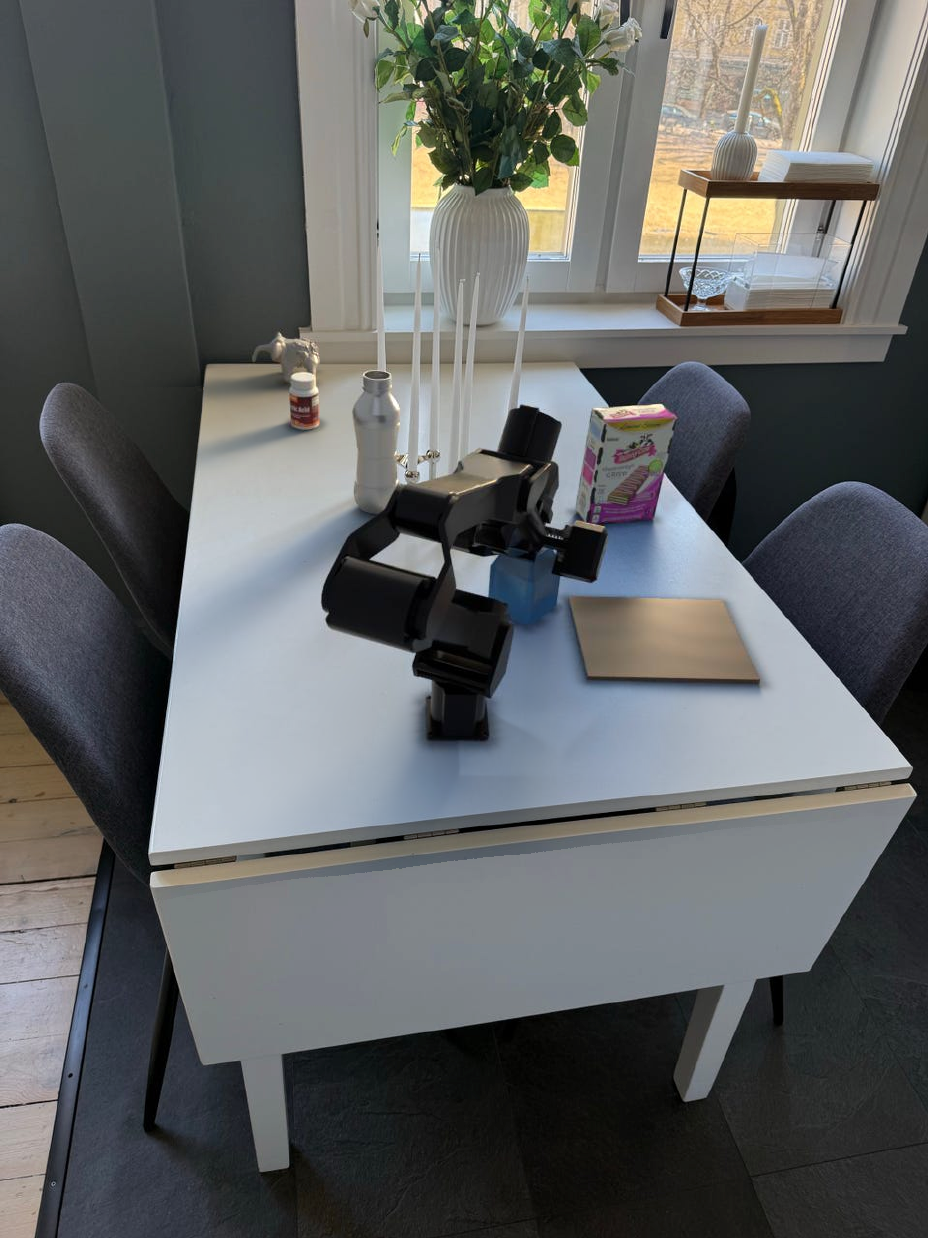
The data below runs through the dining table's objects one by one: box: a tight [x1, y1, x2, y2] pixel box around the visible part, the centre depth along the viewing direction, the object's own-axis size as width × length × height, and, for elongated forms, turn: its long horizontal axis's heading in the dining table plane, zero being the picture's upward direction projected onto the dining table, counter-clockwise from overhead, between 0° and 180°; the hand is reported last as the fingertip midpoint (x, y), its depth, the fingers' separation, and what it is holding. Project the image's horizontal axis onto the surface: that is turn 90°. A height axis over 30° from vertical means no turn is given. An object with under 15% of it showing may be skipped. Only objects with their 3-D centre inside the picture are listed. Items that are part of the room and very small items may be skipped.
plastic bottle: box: [351, 369, 402, 515], centre depth 126 cm, size 6×7×20 cm
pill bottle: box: [288, 371, 320, 431], centre depth 152 cm, size 5×5×8 cm
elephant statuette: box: [251, 331, 321, 384], centre depth 168 cm, size 9×12×8 cm
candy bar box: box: [574, 403, 678, 526], centre depth 130 cm, size 11×5×16 cm, turn 108°
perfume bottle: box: [487, 547, 561, 628], centre depth 111 cm, size 6×6×12 cm
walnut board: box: [567, 595, 761, 684], centre depth 110 cm, size 16×20×1 cm
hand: (532, 556), depth 111 cm, fingers closed on perfume bottle, 7 cm apart
